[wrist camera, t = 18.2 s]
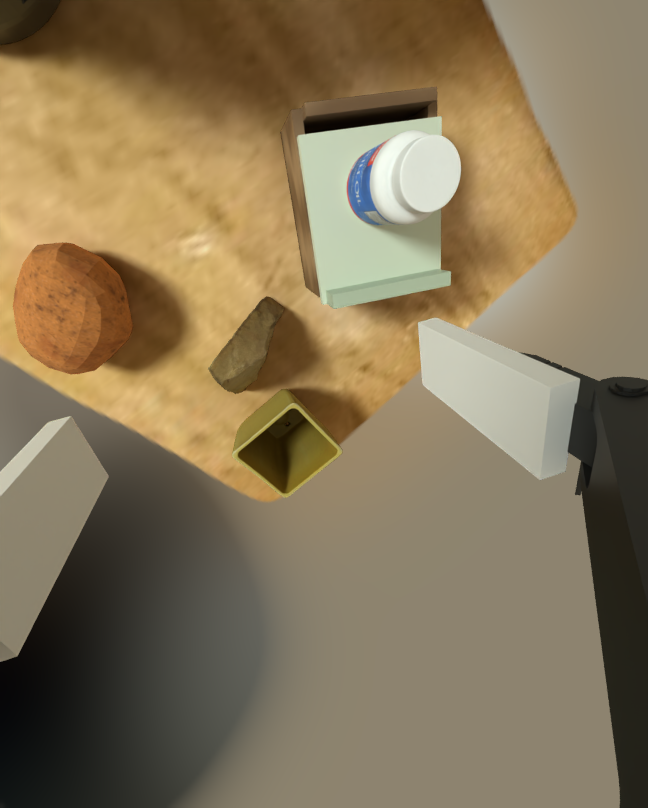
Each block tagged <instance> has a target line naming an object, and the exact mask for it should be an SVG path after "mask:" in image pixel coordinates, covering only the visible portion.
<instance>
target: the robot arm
mask: <svg viewBox="0 0 648 808" xmlns="http://www.w3.org/2000/svg"><path fill="white" fill-rule="evenodd" d="M59 2H60V0H0V44H7V43H12V42H16V41H19V40H21V39H24V38H26V37H28V36H30V35H32V34H33V33H35V32H36V31H37V30H39V29H40V28H41V27H42V26H43V25H44V24H45V23H46V22H47V21H48V20H49V19H50V17H51V16H52V15H53V13H54V12H55V10H56V8H57V6H58V4H59ZM418 330H419V343H420V357H421V371H422V384H423V386H425V387H426V388H427V389H428V390H430V391H431V392H432V393H433V394H434V395H436V396H437V397H438V398H439V399H441V400H442V401H443V402H444V403H446V404H447V405H448V406H449V407H450V408H452V409H453V410H454V411H455V412H457V413H458V414H459V415H460V416H462V417H463V418H464V419H465V420H467V421H468V422H469V423H470V424H471V425H473V426H474V427H475V428H476V429H478V430H479V431H480V432H481V433H483V434H484V435H485V436H486V437H488V438H489V439H490V440H491V441H492V442H494V443H495V444H496V445H497V446H498V447H500V448H501V449H502V450H504V451H505V452H506V453H507V454H509V455H510V456H511V457H512V458H513V459H515V460H516V461H517V462H518V463H520V464H521V465H522V466H523V467H524V468H526V469H527V470H528V471H529V472H530V473H532V474H533V475H534V476H535V477H537V478H538V479H539V480H542V479H545V478H548V477H551V476H554V475H557V474H560V473H563V472H565V471H566V466H567V459H568V453H570V454H572V455H573V456H575V457H576V458H578V459H579V460H581V465H580V471H579V476H578V481H577V487H576V492H575V495H580V494H581V491H582V498H583V506H584V514H585V522H586V529H587V537H588V545H589V553H590V560H591V568H592V576H593V583H594V591H595V599H596V606H597V614H598V622H599V629H600V637H601V645H602V653H603V661H604V668H605V676H606V683H607V691H608V699H609V707H610V714H611V722H612V730H613V738H614V745H615V753H616V761H617V769H618V776H619V787H620V808H648V380H644V379H640V378H632V377H612V378H607V379H603V380H601V381H597V380H595V379H592V378H590V377H588V376H585V375H583V374H580V373H578V372H575V371H573V370H570V369H568V368H565V367H564V368H562V366H561V365H558V364H556V363H551V362H550V361H549V360H546V359H544V358H541V357H539V356H536V355H531V354H525V353H520V352H516V351H514V350H511V349H509V348H507V347H504V346H502V345H500V344H497V343H495V342H493V341H490V340H488V339H485V338H483V337H481V336H478V335H476V334H474V333H471V332H469V331H467V330H464V329H462V328H460V327H457V326H455V325H453V324H450V323H448V322H446V321H443V320H441V319H439V318H432V319H428V320H425V321H421V322H418ZM107 479H108V474H107V473H106V471H105V470H104V468H103V466H102V465H101V463H100V462H99V460H98V459H97V457H96V455H95V454H94V452H93V450H92V449H91V447H90V446H89V444H88V442H87V441H86V439H85V438H84V436H83V434H82V433H81V431H80V430H79V428H78V426H77V425H76V423H75V421H74V420H73V418H72V417H71V416H69V417H66V418H62V419H59V420H55V421H51V422H48V423H47V424H46V425H45V426H44V427H43V428H42V430H40V431H39V432H38V434H36V435H35V437H34V438H33V439H32V440H31V441H30V442H29V443H28V444H27V445H26V446H25V447H24V448H23V449H22V450H21V451H20V452H19V453H18V454H17V455H16V456H15V457H14V458H13V459H12V460H11V461H10V462H9V463H8V464H7V465H6V466H5V468H3V469H2V471H1V472H0V662H1V661H4V660H7V659H10V658H13V657H16V656H18V653H19V652H20V650H21V648H22V646H23V644H24V642H25V640H26V638H27V636H28V634H29V632H30V630H31V628H32V626H33V624H34V622H35V620H36V618H37V616H38V614H39V612H40V610H41V608H42V606H43V604H44V603H45V601H46V598H47V597H48V595H49V593H50V591H51V588H52V587H53V585H54V583H55V581H56V579H57V577H58V575H59V573H60V571H61V569H62V567H63V565H64V563H65V561H66V559H67V557H68V555H69V553H70V551H71V549H72V547H73V546H74V544H75V542H76V540H77V538H78V536H79V534H80V532H81V530H82V528H83V526H84V524H85V522H86V520H87V518H88V516H89V514H90V512H91V510H92V508H93V506H94V504H95V502H96V500H97V498H98V496H99V494H100V492H101V490H102V489H103V486H104V485H105V483H106V481H107Z"/></svg>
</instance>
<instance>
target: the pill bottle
mask: <svg viewBox="0 0 648 808" xmlns="http://www.w3.org/2000/svg"><path fill="white" fill-rule="evenodd" d="M460 176H461V162H460V157H459V154H458V151H457V149H456V148H455V146H454V145H453V143H452V142H451V141H450V140H448V139H447V138H445V137H443V136H440V135H430V134H428V133H426V132H423V131H418V130H410V131H405V132H402V133H400V134H398V135H395V136H393V137H392V138H390V139H388V140H387V141H385V142H383V143H381V144H380V145H378V146H376V147H374V148H372V149H371V150H369V151H367V152H365V153H364V154H363V155H361V156H360V157H359V158H358V159H357V160H356V162H355V163H354V164H353V166H352V168H351V170H350V172H349V175H348V178H347V183H346V195H347V200H348V203H349V206H350V208H351V210H352V211H353V213H354V214H355V215H356V216H357V217H358V218H359V219H360V220H362V221H364V222H366V223H368V224H372V225H411V224H415V223H418V222H421V221H423V220H424V219H426V218H427V217H429V216H430V215H431V214H432V213H433V212H434V211H437V210H439V209H441V208H442V207H444V206H445V205H446V204H447V203H448V202H449V201H450V200H451V198H452V197H453V195H454V194H455V192H456V190H457V187H458V185H459V181H460Z"/></svg>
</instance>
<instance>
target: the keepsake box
mask: <svg viewBox="0 0 648 808" xmlns="http://www.w3.org/2000/svg"><path fill="white" fill-rule="evenodd" d="M431 117H437V87H430V88H422V89H413V90H405V91H397V92H388V93H380V94H372V95H364V96H355V97H347V98H339V99H330V100H322V101H314V102H305V103H304V105H303V106H302V108H301V109H293V110H291V111H290V113H289V115H288V117H287V120H286V122H285V124H284V126H283V128H282V130H281V132H280V133H281V139H282V145H283V151H284V157H285V163H286V169H287V175H288V182H289V188H290V194H291V200H292V206H293V212H294V218H295V224H296V230H297V236H298V242H299V248H300V255H301V261H302V267H303V273H304V279H305V285H306V288H308V289H309V290H310V291H312V292H313V293H314V294H316V295H317V296H318V297H320V291H319V284H318V278H317V271H316V264H315V257H314V251H313V244H312V237H311V230H310V223H309V217H308V210H307V203H306V196H305V190H304V183H303V176H302V169H301V163H300V156H299V149H298V142H297V137H298V135H303V134H311V133H318V132H326V131H333V130H341V129H348V128H356V127H363V126H371V125H378V124H386V123H394V122H401V121H409V120H416V119H424V118H431Z"/></svg>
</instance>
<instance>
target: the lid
mask: <svg viewBox="0 0 648 808" xmlns="http://www.w3.org/2000/svg"><path fill="white" fill-rule="evenodd" d="M410 130H418V131H423V132H426V133H428V134H430V135H440V136H442V116H439V117H431V118H424V119H416V120H409V121H401V122H394V123H386V124H378V125H371V126H363V127H356V128H348V129H341V130H333V131H326V132H318V133H311V134H303V135H298V137H297V142H298V149H299V156H300V163H301V169H302V176H303V183H304V190H305V196H306V203H307V210H308V217H309V223H310V230H311V237H312V244H313V251H314V257H315V264H316V271H317V278H318V284H319V291H320V298H321V303H322V304H323V305H324V304H328V305H329V306H331V307H332V308H333V309H337V308H342V307H347V306H352V305H357V304H361V303H366V302H371V301H376V300H381V299H386V298H391V297H396V296H401V295H406V294H411V293H416V292H421V291H426V290H431V289H435V288H440V287H445V286H450V285H451V271H446V270H441V209H439V210H437V211H434V212H433V213H432V214H431V215H430V216H429V217H427V218H426V219H424V220H423V221H421V222H418V223H415V224H411V225H372V224H368V223H366V222H364V221H362V220H360V219H359V218H358V217H357V216H356V215H355V214H354V213H353V211H352V210H351V208H350V206H349V203H348V200H347V195H346V183H347V178H348V175H349V172H350V170H351V168H352V166H353V164H354V163H355V162H356V160H357V159H358V158H359V157H360V156H361V155H363V154H364V153H365V152H367V151H369V150H371V149H372V148H374V147H376V146H378V145H380V144H381V143H383V142H385V141H387V140H388V139H390V138H392V137H393V136H395V135H398V134H400V133H402V132H405V131H410Z"/></svg>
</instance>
